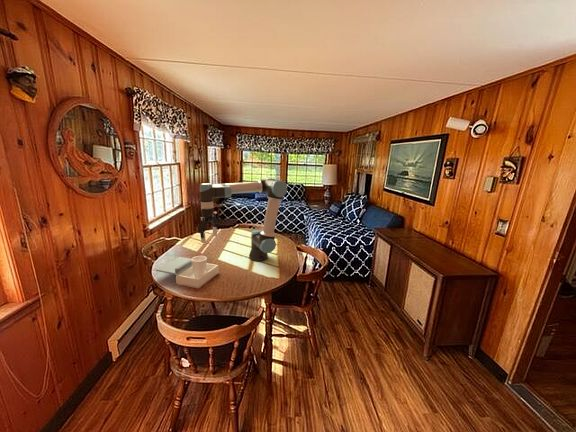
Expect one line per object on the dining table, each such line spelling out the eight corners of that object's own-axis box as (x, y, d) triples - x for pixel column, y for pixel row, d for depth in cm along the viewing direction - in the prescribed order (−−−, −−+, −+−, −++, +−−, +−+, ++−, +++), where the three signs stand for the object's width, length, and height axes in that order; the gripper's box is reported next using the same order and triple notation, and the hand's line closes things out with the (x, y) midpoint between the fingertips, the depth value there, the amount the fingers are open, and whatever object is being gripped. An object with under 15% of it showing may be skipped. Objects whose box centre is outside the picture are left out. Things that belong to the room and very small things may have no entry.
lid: (199, 261, 167) (199, 256, 166) (176, 275, 147) (176, 269, 146) (179, 258, 171) (179, 253, 171) (155, 270, 151) (155, 265, 150)
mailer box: (218, 273, 165) (218, 265, 163) (198, 288, 144) (198, 279, 143) (198, 269, 169) (198, 261, 168) (176, 284, 148) (175, 275, 147)
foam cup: (200, 281, 150) (199, 262, 147) (189, 278, 153) (188, 259, 150) (210, 275, 159) (209, 257, 156) (199, 272, 162) (198, 254, 159)
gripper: (212, 204, 165) (214, 233, 170) (189, 211, 142) (192, 245, 147) (222, 204, 164) (224, 234, 169) (200, 212, 140) (203, 246, 145)
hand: (209, 239), depth 158 cm, fingers open, 13 cm apart
